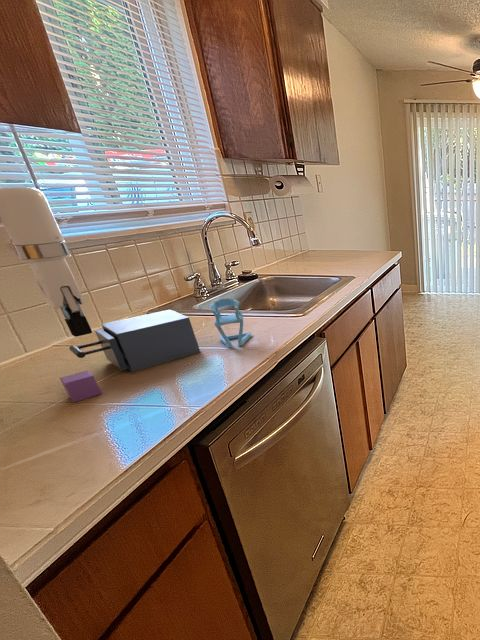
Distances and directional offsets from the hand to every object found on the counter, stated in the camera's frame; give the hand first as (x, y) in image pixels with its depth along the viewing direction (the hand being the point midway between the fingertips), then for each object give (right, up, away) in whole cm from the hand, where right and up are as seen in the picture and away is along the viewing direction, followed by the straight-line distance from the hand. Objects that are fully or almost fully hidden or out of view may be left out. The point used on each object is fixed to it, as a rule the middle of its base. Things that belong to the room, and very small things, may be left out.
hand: (82, 334), depth 91 cm
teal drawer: (+4, -6, +9) cm, 11 cm away
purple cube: (+7, -13, -6) cm, 16 cm away
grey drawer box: (+7, -5, +13) cm, 15 cm away
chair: (+22, -1, +21) cm, 30 cm away
